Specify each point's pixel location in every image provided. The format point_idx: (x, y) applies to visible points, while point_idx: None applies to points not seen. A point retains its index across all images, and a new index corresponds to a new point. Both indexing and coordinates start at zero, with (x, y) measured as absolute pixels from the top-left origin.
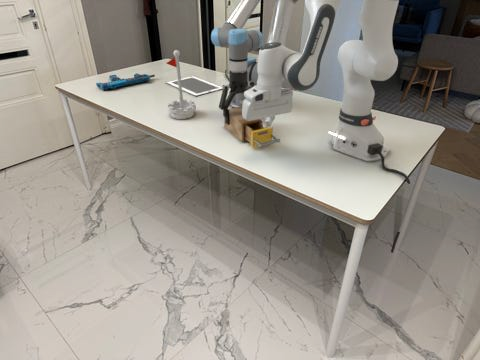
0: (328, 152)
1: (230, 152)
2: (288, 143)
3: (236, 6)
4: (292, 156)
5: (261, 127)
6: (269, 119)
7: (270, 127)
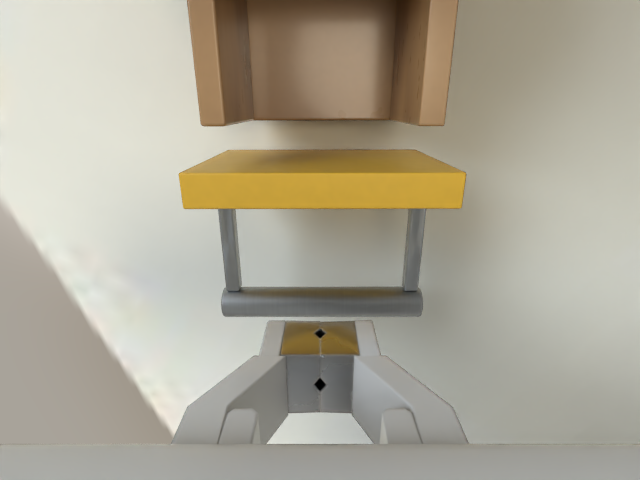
0: (627, 403)
1: (59, 128)
2: (528, 208)
3: None
4: (421, 356)
5: (415, 11)
6: (375, 387)
7: (445, 187)
